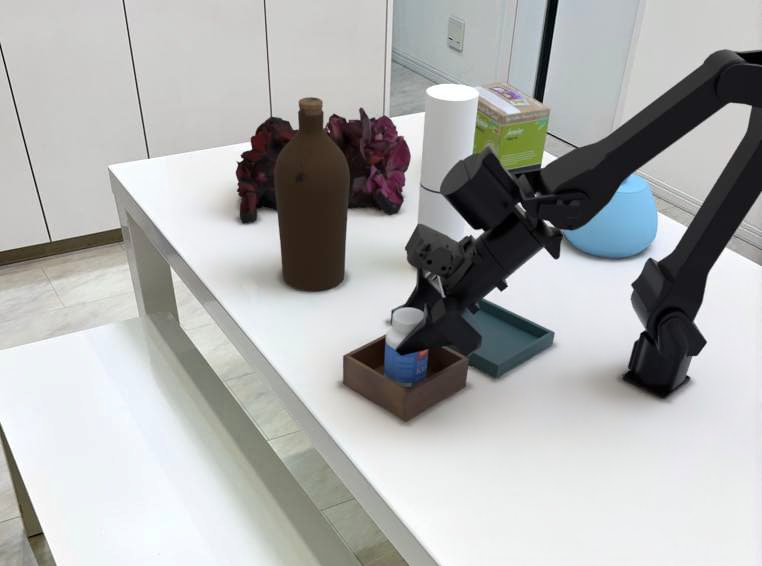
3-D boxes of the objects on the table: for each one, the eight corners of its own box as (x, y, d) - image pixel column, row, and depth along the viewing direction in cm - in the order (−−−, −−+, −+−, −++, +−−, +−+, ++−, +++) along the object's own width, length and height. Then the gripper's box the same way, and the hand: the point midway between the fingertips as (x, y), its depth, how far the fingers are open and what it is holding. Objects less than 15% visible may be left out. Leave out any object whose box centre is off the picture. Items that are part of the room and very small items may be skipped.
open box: (465, 386, 111) (469, 358, 108) (405, 422, 105) (407, 393, 102) (402, 352, 116) (404, 324, 113) (342, 383, 111) (342, 355, 108)
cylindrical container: (407, 268, 134) (417, 95, 116) (426, 250, 138) (439, 80, 121) (449, 279, 131) (466, 104, 114) (467, 260, 136) (486, 89, 119)
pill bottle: (422, 398, 108) (427, 330, 101) (379, 393, 109) (382, 324, 102) (428, 374, 112) (434, 307, 105) (387, 369, 113) (390, 302, 106)
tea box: (449, 171, 162) (457, 86, 152) (495, 163, 165) (506, 79, 155) (491, 202, 152) (502, 113, 142) (539, 193, 155) (553, 105, 145)
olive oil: (355, 290, 129) (359, 111, 111) (285, 297, 127) (278, 117, 109) (339, 257, 136) (340, 85, 118) (273, 264, 134) (264, 90, 116)
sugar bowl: (543, 228, 145) (555, 157, 137) (619, 216, 149) (635, 146, 141) (590, 267, 135) (607, 194, 127) (671, 253, 139) (692, 181, 131)
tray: (552, 345, 118) (555, 332, 117) (496, 378, 112) (498, 365, 111) (447, 294, 128) (449, 281, 127) (390, 322, 122) (391, 309, 120)
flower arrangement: (247, 234, 141) (239, 138, 131) (223, 187, 155) (215, 97, 144) (424, 213, 148) (431, 121, 138) (387, 170, 162) (391, 83, 151)
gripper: (441, 172, 101) (346, 261, 109) (463, 243, 88) (354, 340, 95) (498, 236, 107) (405, 317, 114) (528, 312, 94) (420, 398, 101)
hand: (395, 340), depth 106 cm, fingers closed on pill bottle, 5 cm apart
